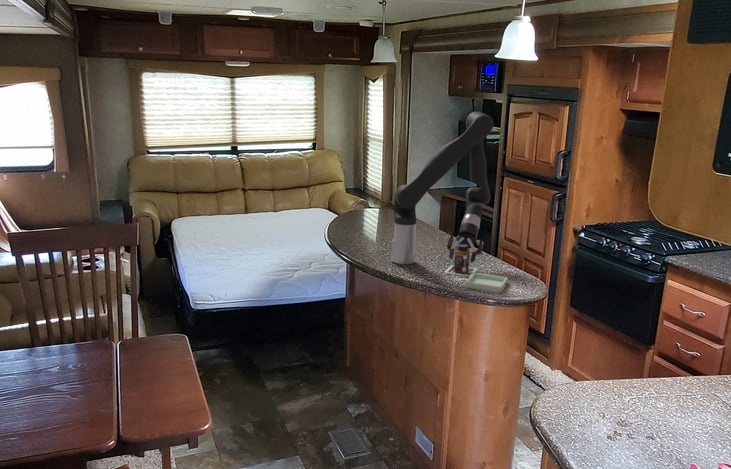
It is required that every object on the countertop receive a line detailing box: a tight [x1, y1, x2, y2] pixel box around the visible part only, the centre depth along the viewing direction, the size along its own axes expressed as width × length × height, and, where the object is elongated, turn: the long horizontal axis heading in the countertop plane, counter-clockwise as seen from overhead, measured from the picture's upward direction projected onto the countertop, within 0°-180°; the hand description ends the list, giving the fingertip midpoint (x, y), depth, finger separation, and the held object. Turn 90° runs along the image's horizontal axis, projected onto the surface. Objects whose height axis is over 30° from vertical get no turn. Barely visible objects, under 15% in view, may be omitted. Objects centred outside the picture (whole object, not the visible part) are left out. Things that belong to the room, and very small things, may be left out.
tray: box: [464, 271, 509, 294], centre depth 220 cm, size 14×14×2 cm
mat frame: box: [443, 264, 479, 278], centre depth 236 cm, size 11×11×1 cm
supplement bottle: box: [453, 244, 471, 274], centre depth 235 cm, size 6×6×11 cm
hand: (461, 260), depth 234 cm, fingers open, 8 cm apart
